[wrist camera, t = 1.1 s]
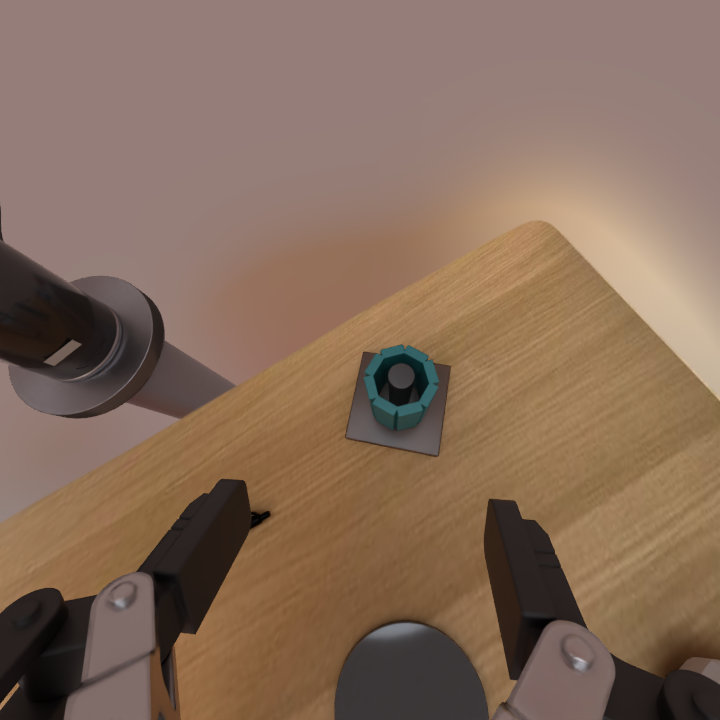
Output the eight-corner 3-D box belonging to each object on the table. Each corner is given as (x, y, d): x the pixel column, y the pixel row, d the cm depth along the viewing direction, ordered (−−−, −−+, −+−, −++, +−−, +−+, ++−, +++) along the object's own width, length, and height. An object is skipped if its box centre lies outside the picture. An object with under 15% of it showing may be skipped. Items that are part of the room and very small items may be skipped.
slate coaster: (306, 734, 29) (305, 738, 29) (383, 589, 32) (383, 590, 31) (442, 853, 26) (443, 860, 26) (513, 682, 29) (515, 685, 29)
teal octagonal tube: (360, 410, 36) (351, 391, 29) (388, 364, 37) (387, 333, 30) (409, 440, 35) (415, 428, 27) (437, 391, 36) (450, 366, 29)
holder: (346, 438, 36) (330, 423, 27) (363, 354, 39) (355, 313, 30) (437, 457, 35) (454, 447, 26) (449, 368, 38) (468, 330, 28)
